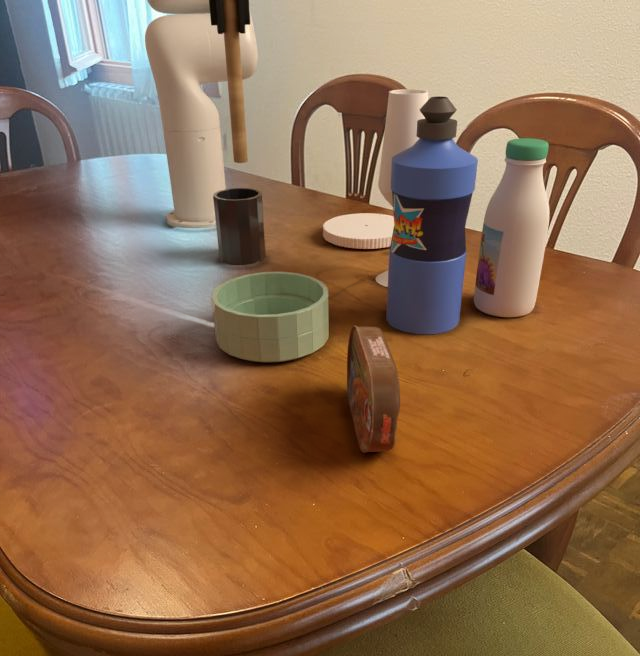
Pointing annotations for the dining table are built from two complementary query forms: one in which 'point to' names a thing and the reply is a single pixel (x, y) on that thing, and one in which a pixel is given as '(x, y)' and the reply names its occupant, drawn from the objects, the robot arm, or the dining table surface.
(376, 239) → the plastic lid
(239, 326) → the bowl
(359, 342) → the tin
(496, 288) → the milk bottle
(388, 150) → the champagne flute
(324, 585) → the dining table surface
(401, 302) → the water bottle
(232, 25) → the stick
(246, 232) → the holder
